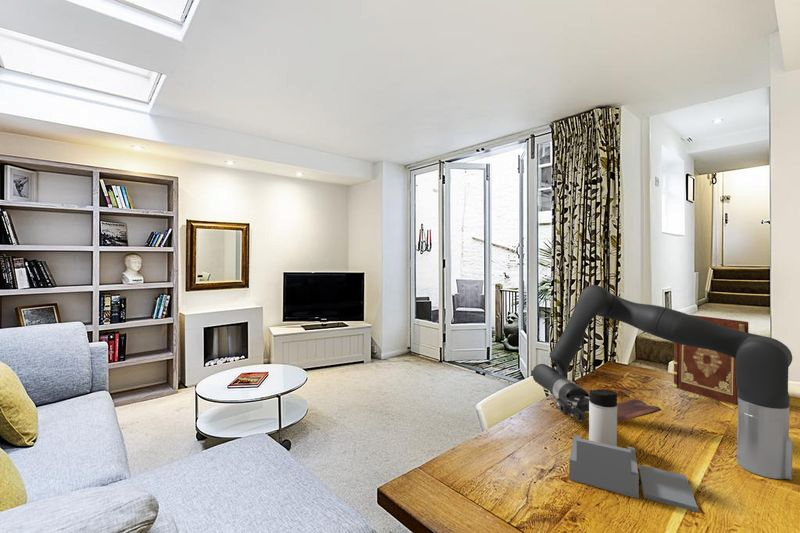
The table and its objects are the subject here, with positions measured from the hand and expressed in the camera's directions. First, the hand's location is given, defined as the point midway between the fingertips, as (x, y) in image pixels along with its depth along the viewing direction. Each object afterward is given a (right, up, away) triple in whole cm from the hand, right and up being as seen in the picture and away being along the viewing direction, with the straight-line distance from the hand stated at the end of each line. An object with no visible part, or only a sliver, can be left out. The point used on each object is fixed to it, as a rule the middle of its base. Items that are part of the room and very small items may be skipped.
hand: (599, 417), depth 94 cm
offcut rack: (-2, -12, -4) cm, 13 cm away
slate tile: (+10, -12, -10) cm, 19 cm away
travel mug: (0, -12, -2) cm, 12 cm away
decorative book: (+69, -11, +49) cm, 85 cm away
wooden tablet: (+27, -12, +33) cm, 44 cm away
